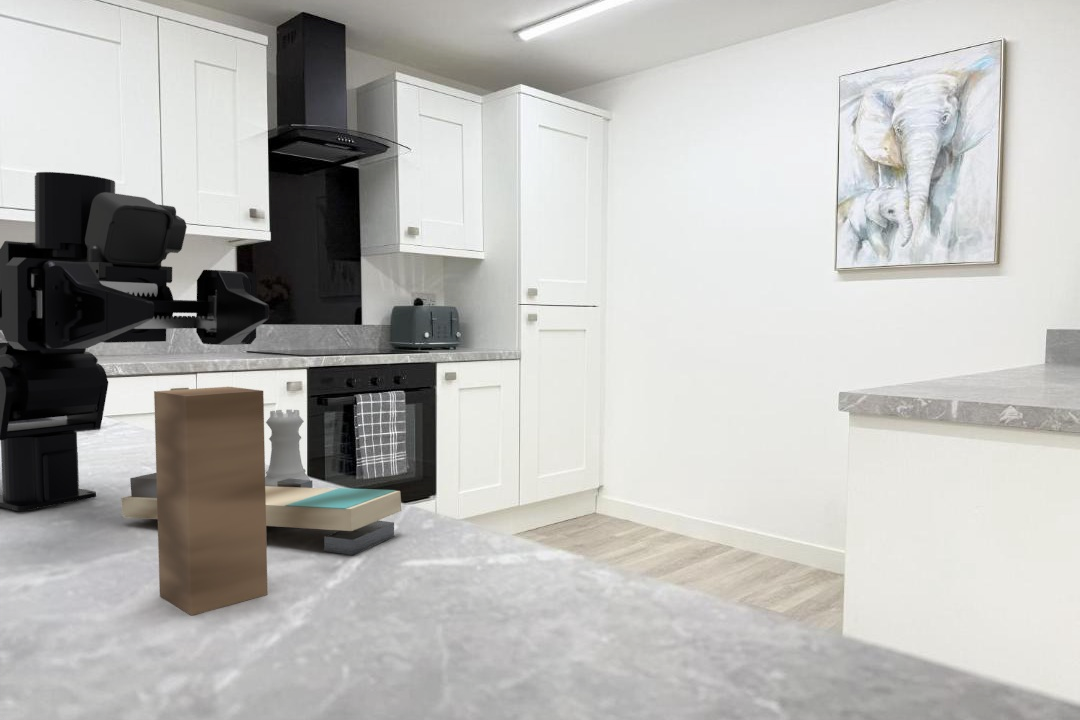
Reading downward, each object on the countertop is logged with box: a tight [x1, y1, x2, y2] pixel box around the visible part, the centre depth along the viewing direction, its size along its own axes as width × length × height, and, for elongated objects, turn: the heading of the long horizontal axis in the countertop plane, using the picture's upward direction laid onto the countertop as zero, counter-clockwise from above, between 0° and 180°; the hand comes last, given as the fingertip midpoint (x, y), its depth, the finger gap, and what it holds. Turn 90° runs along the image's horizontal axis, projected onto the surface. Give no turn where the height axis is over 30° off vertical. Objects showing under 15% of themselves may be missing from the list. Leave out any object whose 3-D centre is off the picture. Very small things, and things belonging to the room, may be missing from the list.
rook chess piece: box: [265, 409, 311, 487], centre depth 69 cm, size 4×4×8 cm
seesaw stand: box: [277, 478, 395, 556], centre depth 57 cm, size 12×10×3 cm
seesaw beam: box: [121, 472, 402, 531], centre depth 59 cm, size 22×6×4 cm, turn 67°
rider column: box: [153, 386, 268, 617], centre depth 44 cm, size 4×4×12 cm
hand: (213, 311), depth 54 cm, fingers open, 9 cm apart
